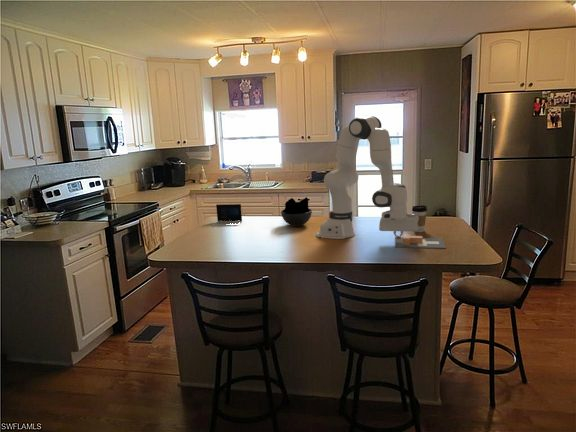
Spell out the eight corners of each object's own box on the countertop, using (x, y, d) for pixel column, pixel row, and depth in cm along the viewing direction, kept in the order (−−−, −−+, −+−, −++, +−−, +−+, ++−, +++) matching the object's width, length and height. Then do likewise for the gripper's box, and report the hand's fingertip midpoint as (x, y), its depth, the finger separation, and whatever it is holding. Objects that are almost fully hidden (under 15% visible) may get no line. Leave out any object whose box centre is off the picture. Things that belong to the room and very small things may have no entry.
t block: (403, 244, 223) (403, 239, 222) (402, 239, 233) (402, 233, 232) (422, 245, 220) (423, 239, 220) (421, 239, 231) (421, 234, 230)
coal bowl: (276, 228, 272) (275, 200, 267) (288, 221, 289) (287, 194, 285) (306, 230, 264) (305, 200, 260) (316, 223, 282) (315, 195, 278)
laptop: (211, 226, 287) (210, 208, 284) (217, 222, 299) (216, 204, 296) (237, 226, 284) (235, 207, 281) (242, 222, 296) (240, 204, 293)
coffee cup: (427, 232, 245) (427, 207, 242) (412, 232, 247) (412, 207, 244) (425, 229, 253) (426, 204, 250) (411, 229, 255) (411, 204, 252)
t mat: (395, 247, 220) (395, 246, 220) (394, 238, 237) (394, 237, 237) (446, 248, 215) (446, 247, 214) (441, 239, 232) (441, 238, 232)
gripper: (418, 212, 226) (418, 237, 229) (379, 212, 230) (379, 237, 233) (419, 215, 220) (418, 240, 223) (379, 215, 224) (379, 240, 227)
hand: (398, 238), depth 228 cm, fingers closed
